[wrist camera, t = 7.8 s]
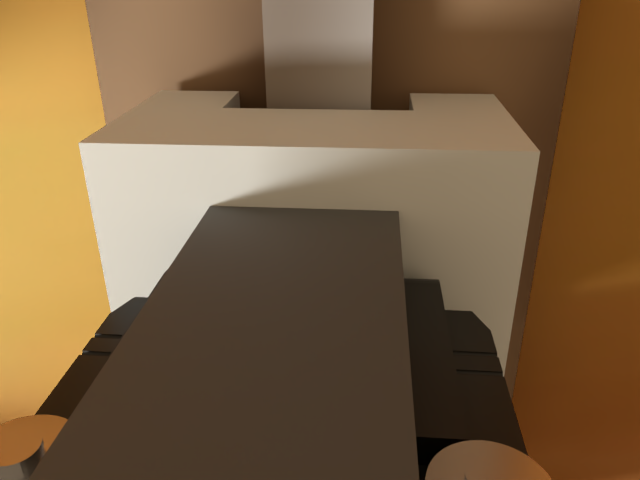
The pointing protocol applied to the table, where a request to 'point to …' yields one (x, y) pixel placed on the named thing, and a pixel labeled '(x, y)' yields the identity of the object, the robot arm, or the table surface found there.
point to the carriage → (287, 280)
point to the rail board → (350, 65)
